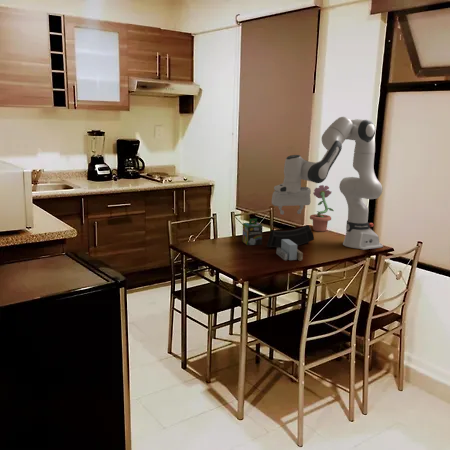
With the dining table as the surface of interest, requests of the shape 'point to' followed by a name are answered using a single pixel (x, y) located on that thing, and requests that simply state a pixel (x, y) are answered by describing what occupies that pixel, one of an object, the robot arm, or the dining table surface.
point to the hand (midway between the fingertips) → (290, 213)
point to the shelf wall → (299, 255)
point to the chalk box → (252, 233)
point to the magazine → (291, 236)
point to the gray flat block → (281, 253)
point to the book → (289, 249)
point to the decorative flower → (320, 219)
